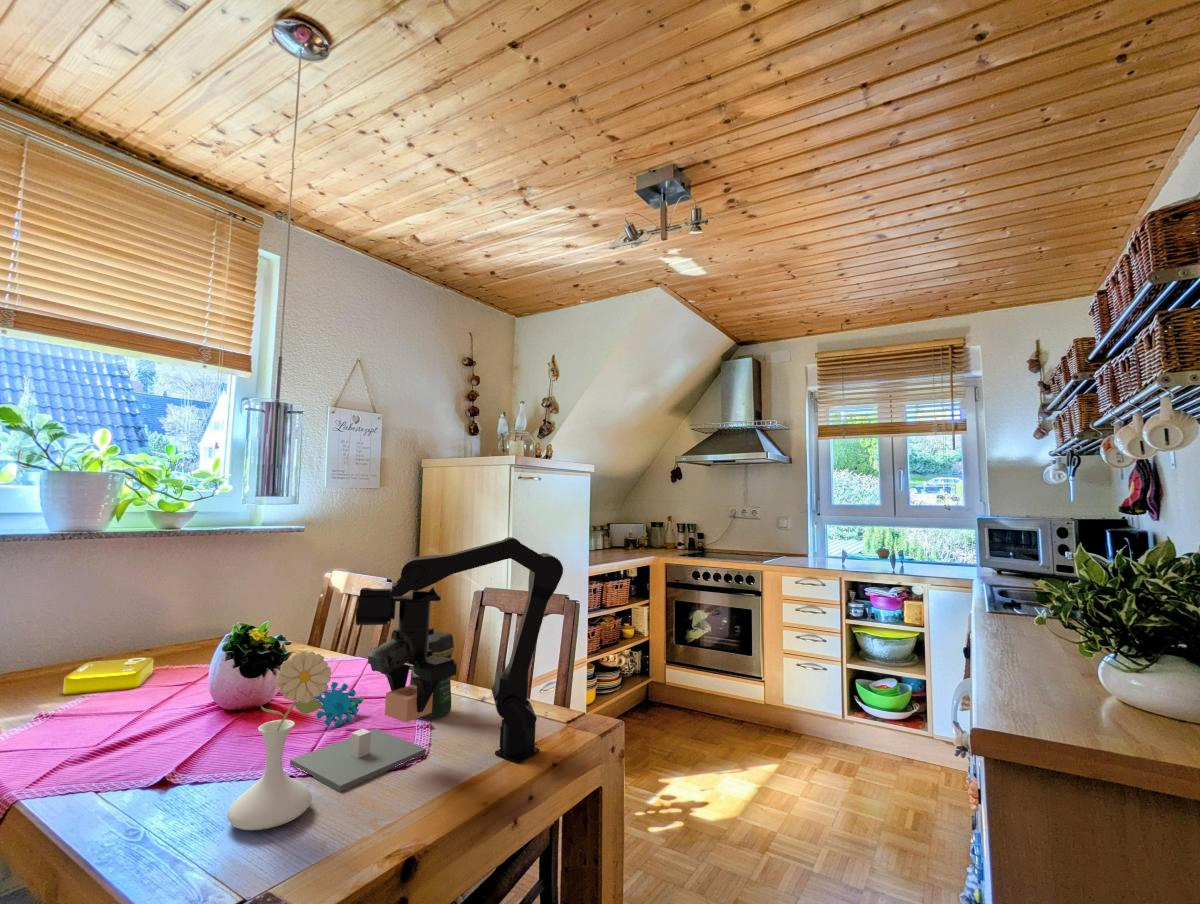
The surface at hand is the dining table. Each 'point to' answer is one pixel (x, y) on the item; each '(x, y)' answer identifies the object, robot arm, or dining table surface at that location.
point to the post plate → (357, 758)
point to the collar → (405, 704)
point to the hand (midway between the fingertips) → (408, 708)
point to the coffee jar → (442, 692)
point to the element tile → (108, 675)
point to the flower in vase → (275, 790)
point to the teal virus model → (338, 704)
